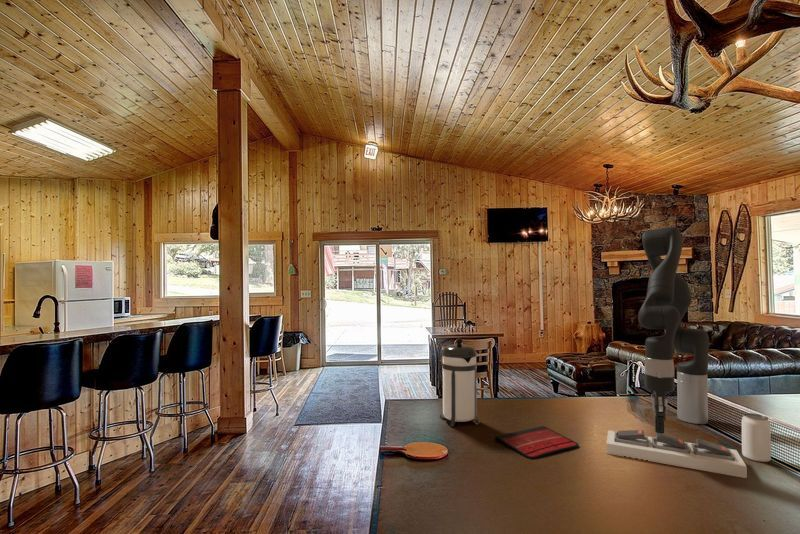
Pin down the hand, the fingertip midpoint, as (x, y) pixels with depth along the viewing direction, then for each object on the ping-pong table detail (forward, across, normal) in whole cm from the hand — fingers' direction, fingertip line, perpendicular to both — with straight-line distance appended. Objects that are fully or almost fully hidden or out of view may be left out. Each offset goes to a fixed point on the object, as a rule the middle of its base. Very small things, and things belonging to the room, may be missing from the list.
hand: (659, 432), depth 126 cm
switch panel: (+7, 0, +3) cm, 7 cm away
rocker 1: (+2, 0, -7) cm, 8 cm away
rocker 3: (+2, 0, +13) cm, 13 cm away
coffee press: (+7, -1, -63) cm, 64 cm away
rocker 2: (+2, 0, +3) cm, 3 cm away
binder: (+8, +8, -33) cm, 35 cm away
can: (+7, -11, +25) cm, 28 cm away
